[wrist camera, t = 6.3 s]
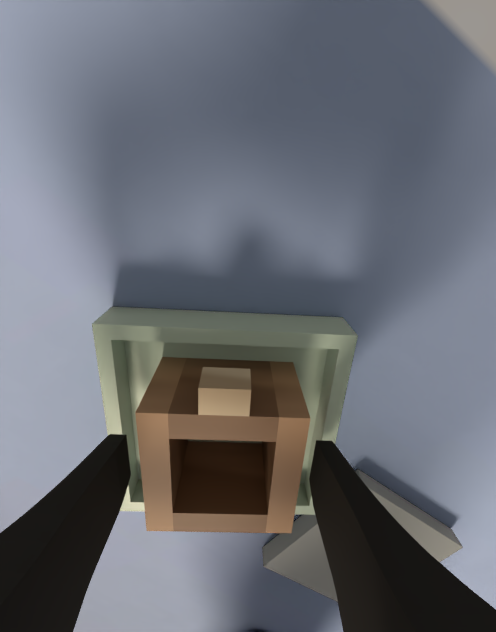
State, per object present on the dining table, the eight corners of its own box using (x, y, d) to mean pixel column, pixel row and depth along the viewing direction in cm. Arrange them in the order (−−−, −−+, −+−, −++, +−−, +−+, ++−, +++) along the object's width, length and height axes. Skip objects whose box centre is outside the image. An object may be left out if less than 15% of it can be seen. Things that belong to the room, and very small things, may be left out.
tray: (311, 482, 16) (319, 515, 15) (131, 477, 16) (118, 510, 14) (342, 317, 13) (357, 335, 11) (112, 306, 12) (91, 323, 11)
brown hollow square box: (280, 459, 15) (291, 533, 12) (167, 456, 15) (146, 530, 11) (295, 340, 13) (314, 392, 9) (161, 335, 12) (132, 385, 9)
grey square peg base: (354, 593, 20) (376, 669, 17) (262, 547, 18) (266, 623, 15) (451, 529, 18) (497, 602, 15) (358, 469, 16) (387, 538, 13)
